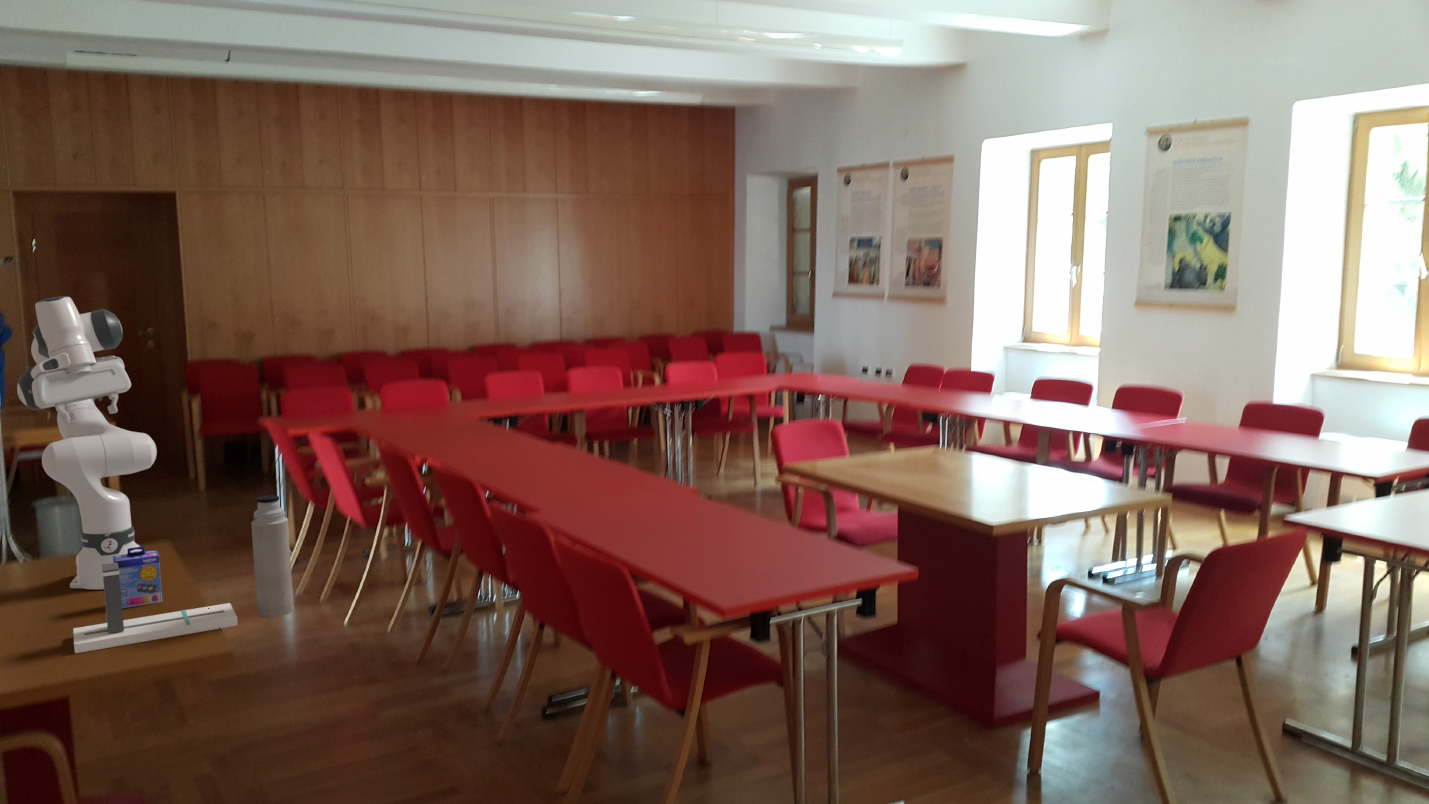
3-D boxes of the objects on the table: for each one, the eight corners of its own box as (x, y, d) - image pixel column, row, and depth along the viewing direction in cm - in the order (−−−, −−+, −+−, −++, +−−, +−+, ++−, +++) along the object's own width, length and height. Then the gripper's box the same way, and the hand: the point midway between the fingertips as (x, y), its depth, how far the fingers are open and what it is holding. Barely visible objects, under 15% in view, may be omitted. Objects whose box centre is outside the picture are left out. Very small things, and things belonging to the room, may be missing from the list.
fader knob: (107, 625, 236) (101, 564, 234) (122, 622, 238) (117, 562, 236) (108, 633, 231) (102, 571, 229) (124, 630, 232) (118, 568, 231)
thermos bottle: (291, 604, 256) (283, 491, 252) (296, 614, 249) (288, 497, 246) (255, 610, 252) (247, 495, 249) (259, 620, 245) (251, 502, 242)
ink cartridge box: (117, 610, 254) (112, 551, 252) (115, 604, 258) (110, 546, 256) (163, 602, 259) (159, 545, 257) (161, 596, 264) (156, 540, 262)
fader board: (74, 637, 235) (73, 627, 235) (230, 611, 252) (229, 602, 252) (74, 653, 225) (73, 643, 225) (237, 625, 242) (237, 616, 242)
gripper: (116, 357, 259) (134, 410, 259) (22, 373, 244) (41, 430, 244) (124, 350, 255) (142, 404, 255) (29, 366, 240) (49, 424, 240)
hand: (92, 417), depth 249 cm, fingers open, 8 cm apart
